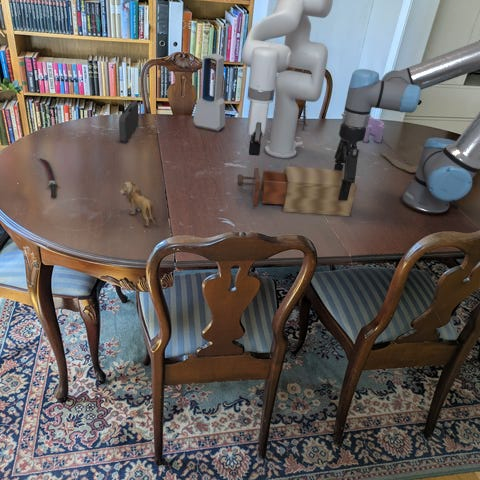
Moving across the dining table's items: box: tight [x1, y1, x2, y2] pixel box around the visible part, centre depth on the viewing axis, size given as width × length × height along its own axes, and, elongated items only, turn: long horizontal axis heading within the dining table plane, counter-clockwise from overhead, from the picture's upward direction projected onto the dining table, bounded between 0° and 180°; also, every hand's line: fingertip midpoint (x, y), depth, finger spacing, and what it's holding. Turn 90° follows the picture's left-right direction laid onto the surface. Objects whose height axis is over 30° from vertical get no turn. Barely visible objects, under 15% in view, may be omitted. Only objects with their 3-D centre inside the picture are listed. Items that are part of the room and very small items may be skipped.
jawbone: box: [380, 152, 419, 174], centre depth 187 cm, size 9×20×2 cm, turn 50°
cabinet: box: [281, 165, 358, 217], centre depth 150 cm, size 21×11×10 cm, turn 91°
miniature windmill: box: [294, 68, 309, 131], centre depth 208 cm, size 9×8×30 cm
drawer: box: [237, 167, 288, 206], centre depth 149 cm, size 25×10×8 cm, turn 91°
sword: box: [40, 158, 59, 198], centre depth 151 cm, size 31×3×1 cm, turn 26°
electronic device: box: [193, 53, 226, 132], centre depth 196 cm, size 12×8×30 cm, turn 71°
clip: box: [362, 114, 386, 143], centre depth 214 cm, size 20×12×7 cm, turn 11°
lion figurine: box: [119, 181, 159, 227], centre depth 134 cm, size 15×5×9 cm, turn 50°
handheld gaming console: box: [118, 101, 139, 143], centre depth 187 cm, size 23×3×10 cm, turn 178°
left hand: (253, 154), depth 142 cm, fingers closed
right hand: (338, 190), depth 150 cm, fingers open, 11 cm apart
